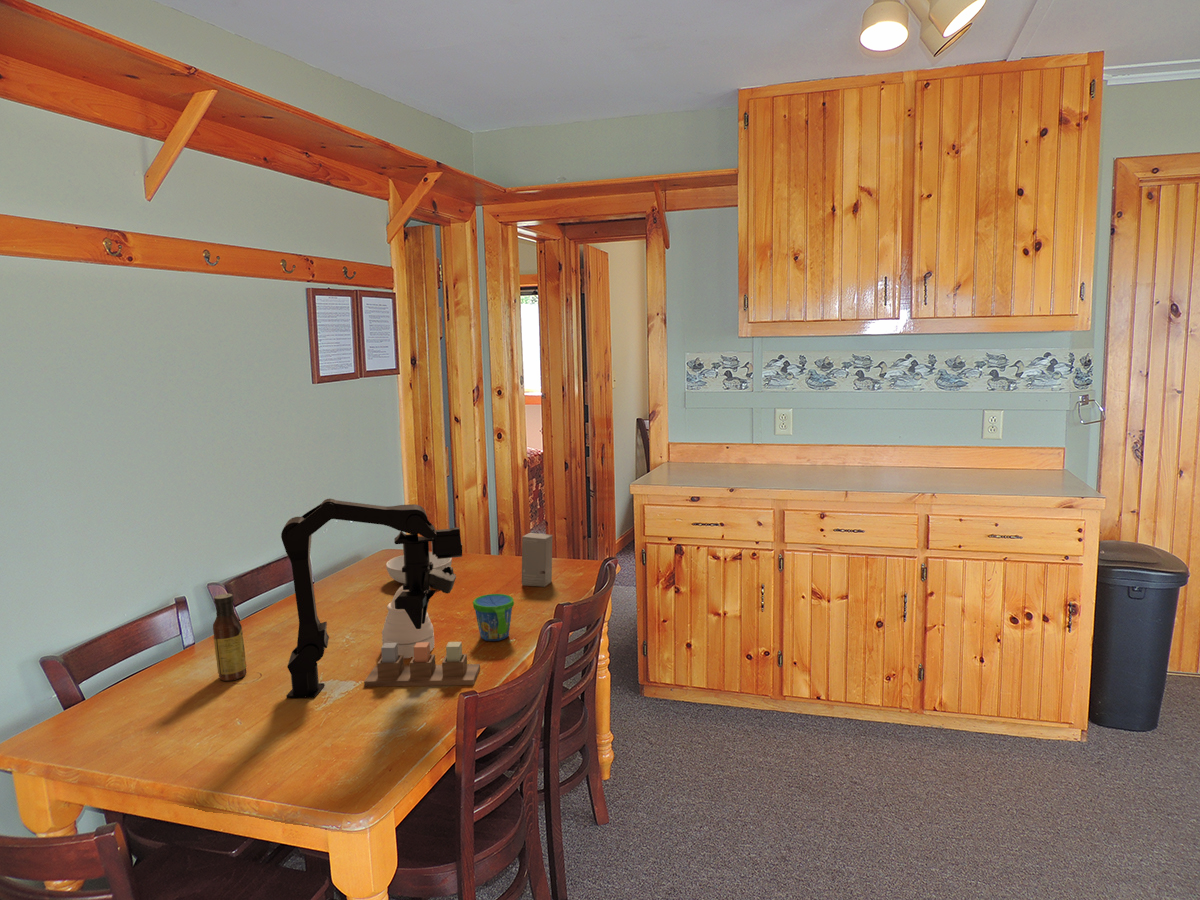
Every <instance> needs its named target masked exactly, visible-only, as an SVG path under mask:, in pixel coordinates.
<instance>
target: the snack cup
mask: <svg viewBox="0 0 1200 900" xmlns="http://www.w3.org/2000/svg"><path fill="white" fill-rule="evenodd" d="M514 605H515V601H514V598H513V596H511V595H508V594H504V593H488V594H483V595H480V596H478V597H476V598H474V600H473V601H472V607H473V609H474V611H475V617H476V622H477V627H478V633H479V636H480V638H481V639H483V640H484V641H485V642H487V641H489V642H499V641H501V640H505V639H506V638H508V637H509V636H510V629H511V621H512V614H513V613H512V611H513V607H514Z"/></svg>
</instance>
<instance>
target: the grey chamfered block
mask: <svg viewBox="0 0 1200 900" xmlns="http://www.w3.org/2000/svg"><path fill="white" fill-rule="evenodd" d="M380 651H381V657H382V663H385V662H397V661H398V659H399V657H398V643H384V645H382V646H381V648H380Z"/></svg>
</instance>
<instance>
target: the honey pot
mask: <svg viewBox="0 0 1200 900" xmlns="http://www.w3.org/2000/svg"><path fill="white" fill-rule="evenodd" d="M402 592H409V590H403V585H401V586H399V588H397V590H396V592H395V594H394V595H393V598H392V601H390V602H389V603H388V604H387V606H386V609H387V610H388V612H387V614H386V616H385V618H384V619H385V621H384V624H383V628H382V629H381V635H382V636H381V638H382V641H381V645H382V646H383V645H384V643H398V655H403V658H404V659H412V658H411V657H414V646H415V644H416V643H417V642H430V652H432V651H433V650H434V649H435V646H434V645H435V633H434V632H435V631H434V625H433V623H432V621H431V619H430V618H431V617H429V615H430V614H429V613H428V612H427V613H426V618H425V623H424V624H422V626H421V629H416V628H415V626H414V624H413V622H412V621H411V619H410V617H409V616H408V614H407V612H406V611H405V609H395V599H396V598H397V597H398V596H399V595H400V594H401V593H402ZM433 648H434V649H433Z"/></svg>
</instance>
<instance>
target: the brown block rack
mask: <svg viewBox="0 0 1200 900" xmlns="http://www.w3.org/2000/svg"><path fill="white" fill-rule="evenodd" d="M398 657H399V659H398V661H397V662H385V663H382V656H381V657H380V659H379V660H378V662H377V663H376V665H375V666H373V668H372V670H371V671H370V673H369V674H367V676H366V678H365V679H364V681H363V686H364V687H420V686H421V687H424V686H425V687H426V686H428V687H429V686H430V687H431V686H433V687H434V686H438V687H439V686H474V685H475V682H476V680H477V678H478V675H479V673H480V670H481V664H480V663H469V664H468V654H467V653H462V661H454V662H447V655H446V654H445V656H444V658H443V659H442V662H441V664H436V654H430V660H429V662H414V657H413V658H411V660H410V662H409V664H405V661H404V660H405V658H403V655H398Z"/></svg>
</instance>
